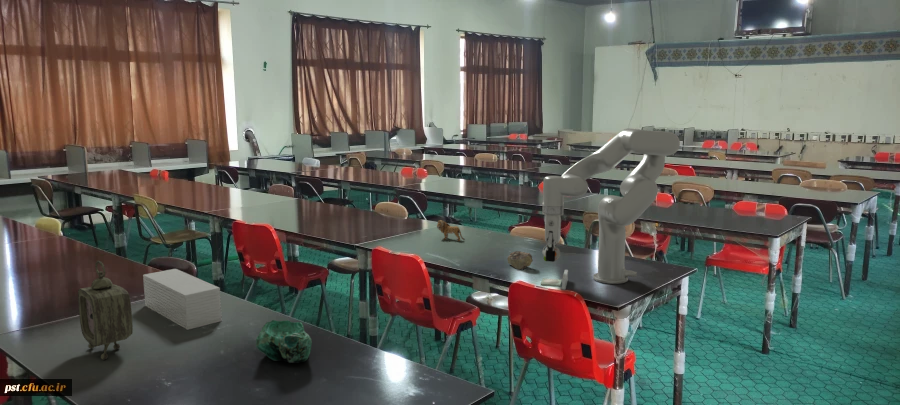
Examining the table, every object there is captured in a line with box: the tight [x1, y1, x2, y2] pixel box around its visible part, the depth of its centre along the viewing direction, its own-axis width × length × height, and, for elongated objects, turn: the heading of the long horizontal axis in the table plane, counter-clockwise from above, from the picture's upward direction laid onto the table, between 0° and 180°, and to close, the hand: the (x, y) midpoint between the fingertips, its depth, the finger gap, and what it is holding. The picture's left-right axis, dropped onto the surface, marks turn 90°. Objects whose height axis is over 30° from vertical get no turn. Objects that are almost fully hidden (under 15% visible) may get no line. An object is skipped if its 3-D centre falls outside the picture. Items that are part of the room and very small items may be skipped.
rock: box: [506, 250, 534, 271], centre depth 258 cm, size 7×11×10 cm
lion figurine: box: [436, 219, 466, 242], centre depth 310 cm, size 15×5×9 cm, turn 66°
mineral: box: [255, 319, 313, 364], centre depth 167 cm, size 18×16×10 cm
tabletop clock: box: [77, 260, 134, 361], centre depth 171 cm, size 14×9×25 cm, turn 45°
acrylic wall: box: [561, 269, 569, 291], centre depth 234 cm, size 1×12×4 cm, turn 166°
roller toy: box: [541, 244, 561, 262], centre depth 235 cm, size 4×6×6 cm
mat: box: [540, 277, 562, 287], centre depth 237 cm, size 7×7×1 cm
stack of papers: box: [142, 268, 223, 330], centre depth 204 cm, size 32×11×11 cm, turn 46°
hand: (551, 258), depth 235 cm, fingers closed on roller toy, 5 cm apart
